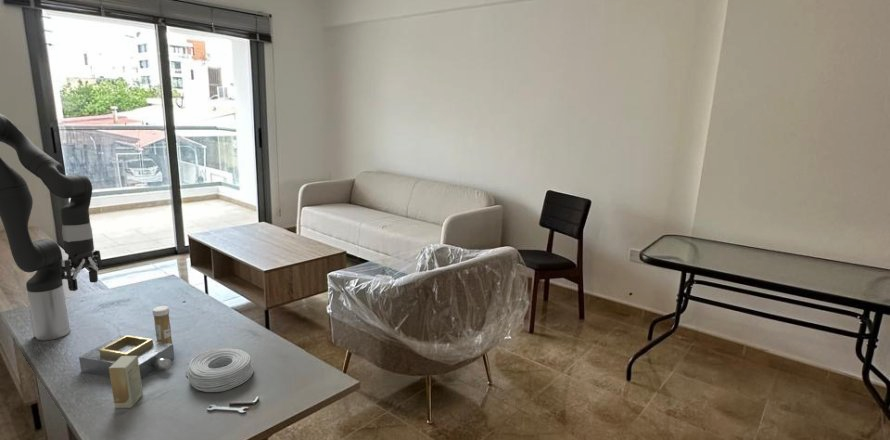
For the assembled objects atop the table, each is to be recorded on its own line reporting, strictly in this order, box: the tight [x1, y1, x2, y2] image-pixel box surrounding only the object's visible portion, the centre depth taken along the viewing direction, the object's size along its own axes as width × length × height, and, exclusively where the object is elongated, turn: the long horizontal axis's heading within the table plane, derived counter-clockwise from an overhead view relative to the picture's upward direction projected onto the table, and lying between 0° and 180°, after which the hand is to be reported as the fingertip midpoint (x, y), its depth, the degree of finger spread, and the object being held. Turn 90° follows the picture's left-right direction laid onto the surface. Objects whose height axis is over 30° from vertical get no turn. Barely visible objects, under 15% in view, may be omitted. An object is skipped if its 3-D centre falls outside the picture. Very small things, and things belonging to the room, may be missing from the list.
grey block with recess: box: [78, 334, 175, 381], centre depth 145 cm, size 24×14×7 cm, turn 78°
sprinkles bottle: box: [152, 305, 174, 345], centre depth 157 cm, size 5×5×14 cm
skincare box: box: [109, 356, 144, 409], centre depth 128 cm, size 6×4×12 cm
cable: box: [185, 347, 254, 393], centre depth 141 cm, size 18×18×6 cm
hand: (84, 286), depth 154 cm, fingers open, 8 cm apart
